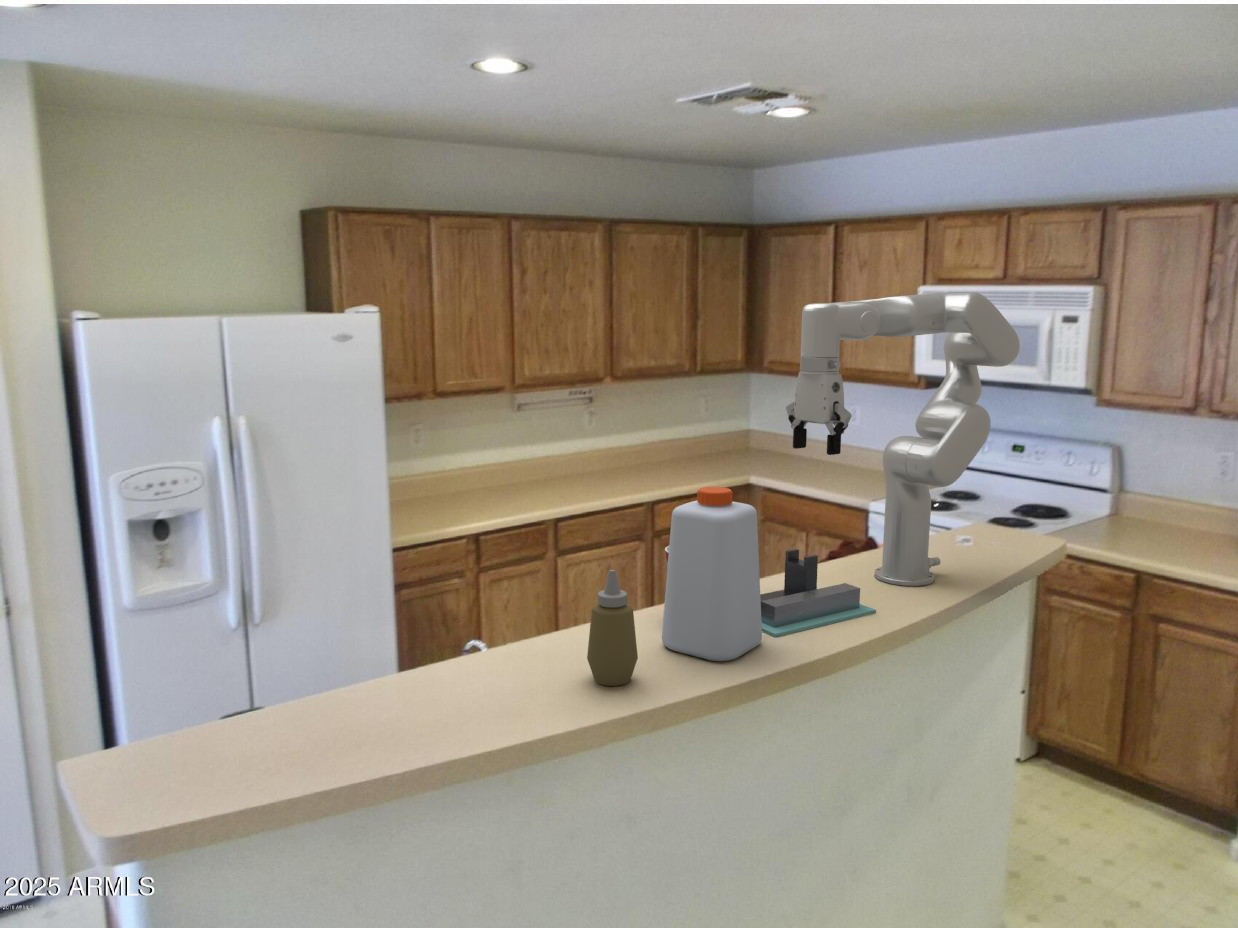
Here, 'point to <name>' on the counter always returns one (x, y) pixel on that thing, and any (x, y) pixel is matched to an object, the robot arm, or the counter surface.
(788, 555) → the brackets
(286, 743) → the counter surface
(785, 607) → the rail
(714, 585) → the plastic bottle
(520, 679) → the counter surface
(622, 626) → the squeeze bottle
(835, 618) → the mat
